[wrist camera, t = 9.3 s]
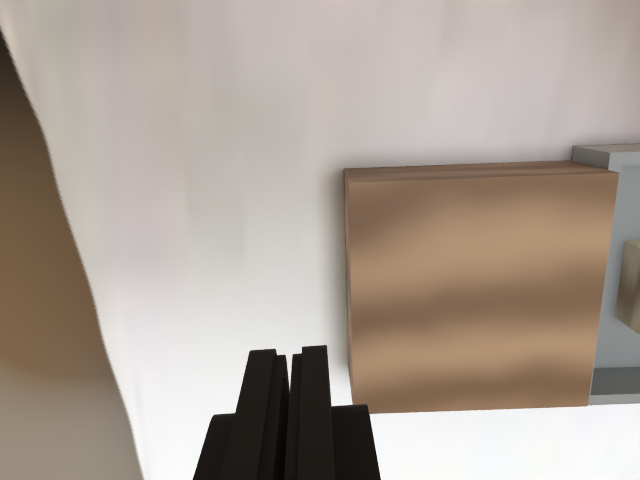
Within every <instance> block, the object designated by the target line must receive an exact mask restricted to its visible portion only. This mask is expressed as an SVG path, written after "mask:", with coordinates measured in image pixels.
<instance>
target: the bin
mask: <svg viewBox="0 0 640 480" xmlns="http://www.w3.org/2000/svg"><path fill="white" fill-rule="evenodd" d="M572 161H573V162H577V163H582V164H586V165H590V166H594V167H598V168H602V169H606V170H611V171H615V172H619V180H618V187H617V194H616V202H615V209H614V216H613V224H612V231H611V239H610V246H609V253H608V261H607V268H606V275H605V283H604V290H603V297H602V305H601V312H600V319H599V327H598V334H597V342H596V349H595V356H594V364H593V371H592V378H591V386H590V393H589V400H588V405H605V404H634V403H640V335H639V334H637V333H636V332H635V331H633V330H632V329H631V328H629V327H628V326H626V325H625V324H624V323H622V322H621V321H620V320H618V319H617V318H615V312H616V304H617V297H618V289H619V282H620V274H621V267H622V259H623V252H624V245H625V241H640V144H616V145H589V146H573V153H572Z"/></svg>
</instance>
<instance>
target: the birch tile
mask: <svg viewBox="0 0 640 480" xmlns="http://www.w3.org/2000/svg"><path fill="white" fill-rule="evenodd" d="M615 318H617V319H618V320H620V321H621V322H622V323H624V324H625V325H626V326H628V327H629V328H631V329H632V330H633V331H635V332H636V333H637V334H639V335H640V241H625V245H624V252H623V259H622V267H621V274H620V282H619V289H618V297H617V304H616V312H615Z"/></svg>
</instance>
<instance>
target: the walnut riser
mask: <svg viewBox="0 0 640 480" xmlns="http://www.w3.org/2000/svg"><path fill="white" fill-rule="evenodd" d="M618 180H619V172H615V171H611V170H606V169H602V168H598V167H594V166H590V165H586V164H582V163H577V162H573V161H569V160H567V161H540V162H514V163H487V164H460V165H433V166H406V167H379V168H352V169H344V191H345V235H346V280H347V324H348V368H349V376H350V385H351V394H352V402H353V405H360V404H367V405H368V410H369V414H377V413H406V412H435V411H464V410H492V409H521V408H550V407H579V406H588V400H589V393H590V386H591V378H592V371H593V364H594V356H595V349H596V342H597V334H598V327H599V319H600V312H601V305H602V297H603V290H604V283H605V275H606V268H607V261H608V253H609V246H610V239H611V231H612V224H613V216H614V209H615V202H616V194H617V187H618Z"/></svg>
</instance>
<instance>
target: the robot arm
mask: <svg viewBox="0 0 640 480" xmlns="http://www.w3.org/2000/svg"><path fill="white" fill-rule="evenodd" d="M193 480H381V478H380V472H379V467H378V461H377V455H376V450H375V444H374V438H373V432H372V427H371V421H370V415H369V410H368V405H367V404H360V405H346V406H332V407H331V395H330V382H329V368H328V355H327V345H322V346H308V347H302V354H293V357H292V372H291V386H290V390H289V380H288V371H287V361H286V356H285V355H277V353H276V349H265V350H251V351H250V353H249V357H248V361H247V365H246V369H245V374H244V378H243V382H242V387H241V391H240V395H239V400H238V404H237V408H236V412H235V413H232V414H218V415H214V416H213V417H212V419H211V421H210V424H209V428H208V431H207V434H206V438H205V441H204V444H203V448H202V451H201V454H200V458H199V461H198V464H197V468H196V471H195V474H194V477H193Z"/></svg>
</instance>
